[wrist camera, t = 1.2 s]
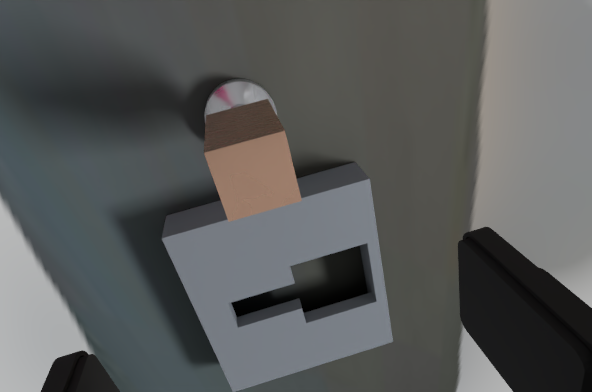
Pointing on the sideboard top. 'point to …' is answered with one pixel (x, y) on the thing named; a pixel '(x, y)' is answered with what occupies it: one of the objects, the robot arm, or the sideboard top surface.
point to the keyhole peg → (248, 150)
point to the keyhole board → (281, 277)
